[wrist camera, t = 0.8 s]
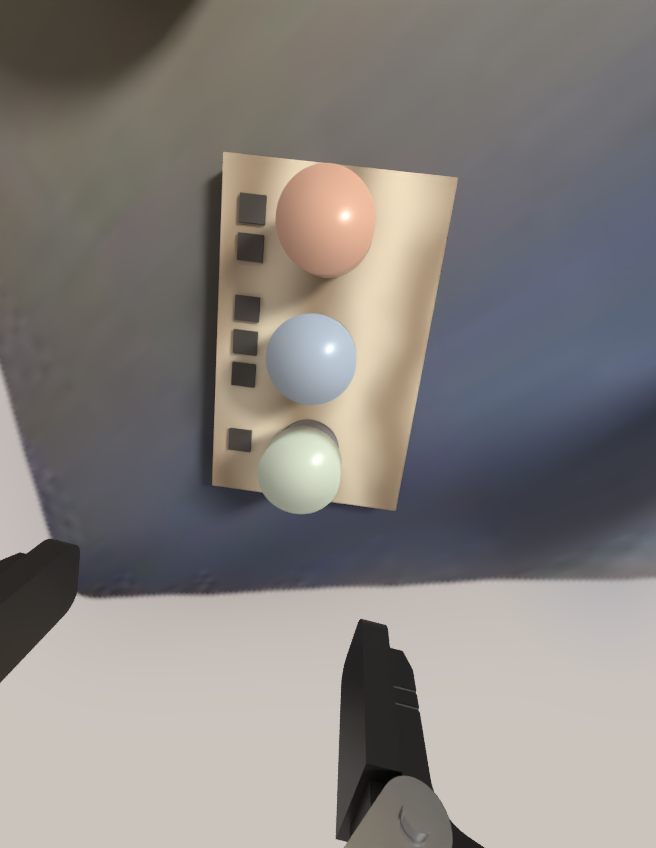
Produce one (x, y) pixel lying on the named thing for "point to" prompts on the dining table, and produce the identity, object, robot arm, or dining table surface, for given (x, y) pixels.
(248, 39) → the dining table surface
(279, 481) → the pale green button
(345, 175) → the two dot button
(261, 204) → the button board
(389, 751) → the robot arm
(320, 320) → the three dot button
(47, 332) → the dining table surface
